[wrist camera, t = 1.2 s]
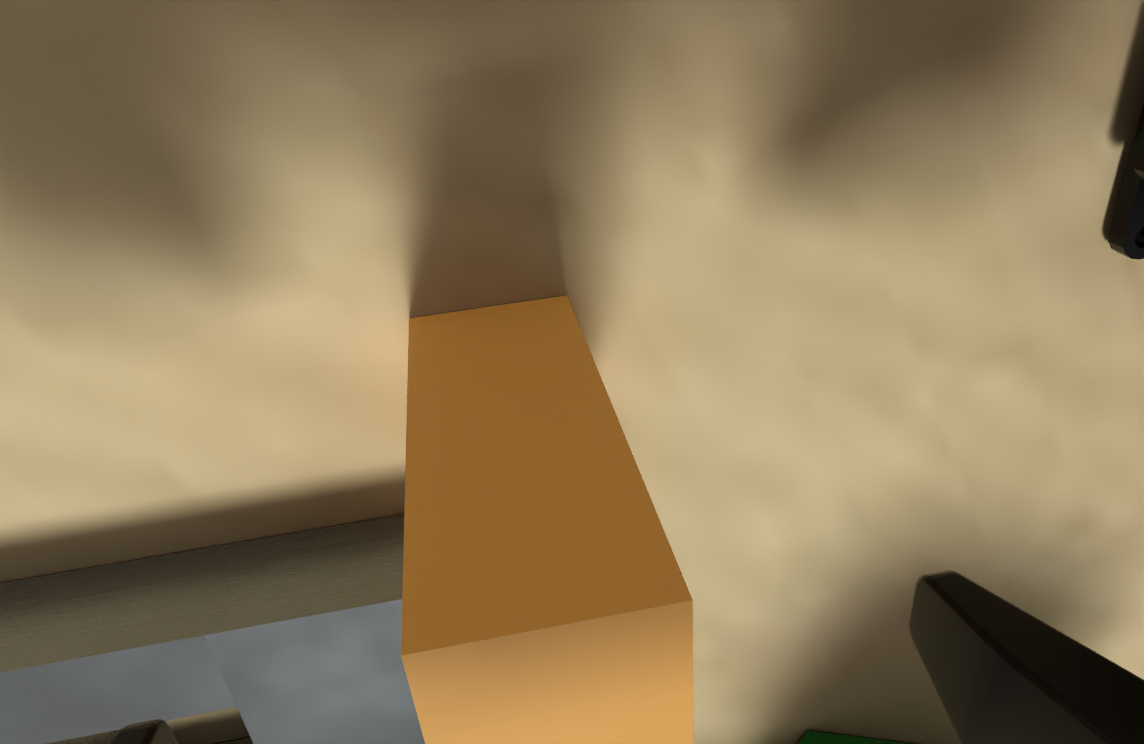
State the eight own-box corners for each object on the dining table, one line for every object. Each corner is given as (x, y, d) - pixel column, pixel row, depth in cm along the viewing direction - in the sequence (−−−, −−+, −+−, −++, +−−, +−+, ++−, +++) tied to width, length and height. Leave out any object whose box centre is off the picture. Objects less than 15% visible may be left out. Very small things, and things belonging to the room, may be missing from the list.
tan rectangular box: (566, 295, 15) (691, 601, 8) (579, 425, 17) (693, 777, 10) (408, 318, 15) (401, 655, 8) (436, 448, 16) (449, 830, 9)
